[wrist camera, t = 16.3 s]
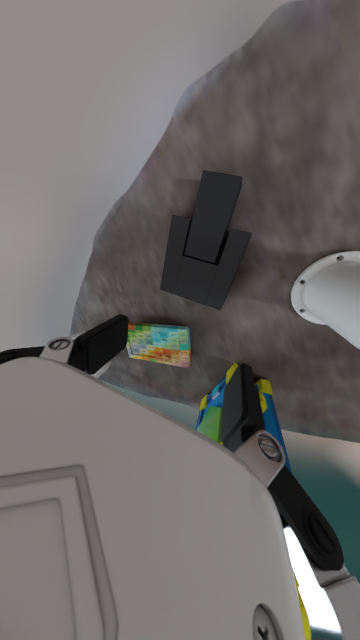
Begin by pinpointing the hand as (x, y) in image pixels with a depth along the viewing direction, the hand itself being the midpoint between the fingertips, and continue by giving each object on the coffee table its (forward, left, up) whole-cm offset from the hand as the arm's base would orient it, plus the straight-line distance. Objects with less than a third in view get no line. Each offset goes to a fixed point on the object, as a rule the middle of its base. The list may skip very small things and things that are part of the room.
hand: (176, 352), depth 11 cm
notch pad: (+4, -4, -24) cm, 25 cm away
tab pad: (+4, -11, -24) cm, 27 cm away
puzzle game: (+10, +19, -24) cm, 33 cm away
